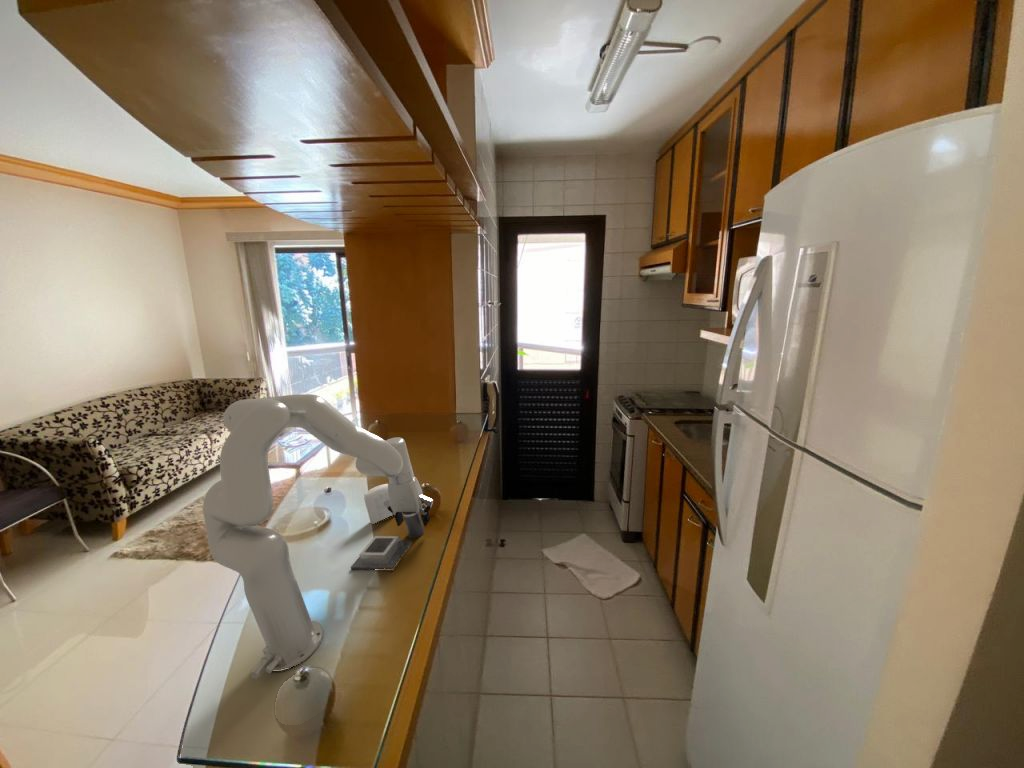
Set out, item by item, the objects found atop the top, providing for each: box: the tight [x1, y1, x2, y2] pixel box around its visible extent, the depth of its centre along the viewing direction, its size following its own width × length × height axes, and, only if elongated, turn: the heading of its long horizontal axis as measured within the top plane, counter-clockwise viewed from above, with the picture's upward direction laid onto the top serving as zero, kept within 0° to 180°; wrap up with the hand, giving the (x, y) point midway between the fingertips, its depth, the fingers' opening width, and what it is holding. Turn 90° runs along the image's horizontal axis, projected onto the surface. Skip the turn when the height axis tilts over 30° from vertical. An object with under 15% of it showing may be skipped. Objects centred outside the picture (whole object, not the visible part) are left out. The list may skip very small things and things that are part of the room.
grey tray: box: [350, 535, 413, 571], centre depth 120 cm, size 12×14×4 cm
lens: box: [402, 511, 425, 539], centre depth 128 cm, size 5×5×9 cm
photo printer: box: [363, 483, 393, 525], centre depth 141 cm, size 10×4×12 cm, turn 123°
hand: (413, 523), depth 129 cm, fingers open, 9 cm apart
